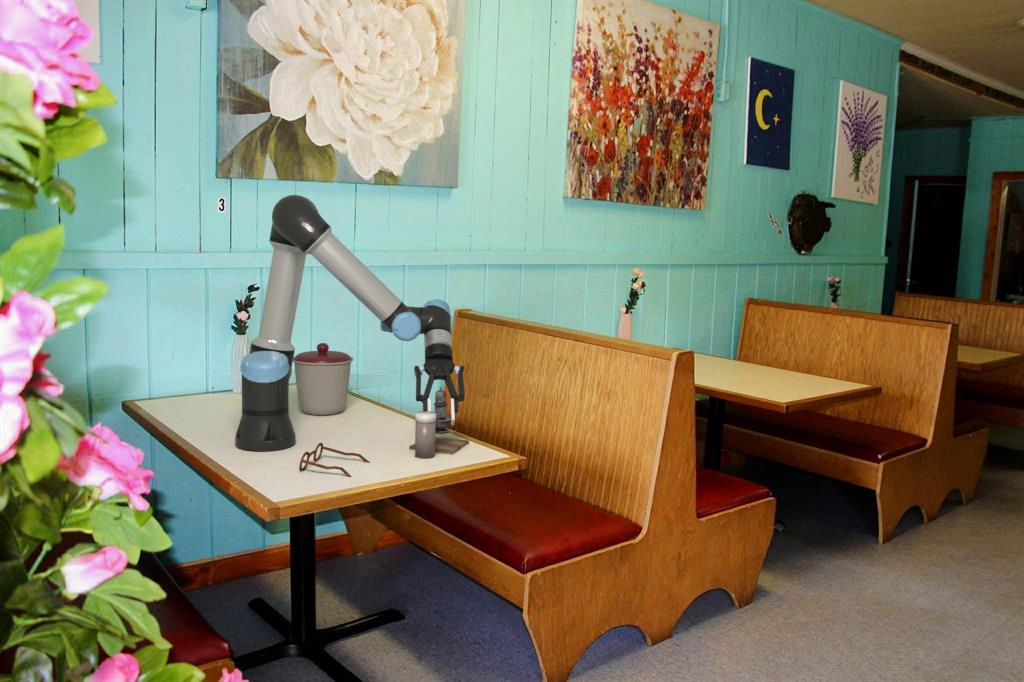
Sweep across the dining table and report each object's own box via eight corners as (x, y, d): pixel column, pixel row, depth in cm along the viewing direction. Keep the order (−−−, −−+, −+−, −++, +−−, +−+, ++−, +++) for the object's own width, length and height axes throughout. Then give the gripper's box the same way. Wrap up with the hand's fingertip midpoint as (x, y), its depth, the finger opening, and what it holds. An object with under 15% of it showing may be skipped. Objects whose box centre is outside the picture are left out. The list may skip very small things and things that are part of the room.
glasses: (319, 460, 219) (319, 440, 218) (370, 464, 217) (370, 444, 216) (297, 475, 206) (297, 454, 206) (351, 479, 204) (351, 458, 203)
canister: (358, 406, 278) (358, 339, 275) (346, 419, 260) (346, 348, 257) (300, 404, 278) (300, 337, 275) (284, 417, 260) (284, 346, 257)
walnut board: (452, 454, 226) (452, 451, 226) (409, 449, 230) (409, 446, 229) (468, 443, 238) (468, 440, 237) (427, 438, 241) (427, 435, 241)
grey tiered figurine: (439, 427, 237) (440, 383, 235) (456, 431, 233) (456, 386, 232) (424, 431, 233) (424, 386, 231) (440, 435, 229) (441, 390, 227)
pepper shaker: (430, 459, 221) (431, 416, 219) (411, 457, 222) (412, 414, 221) (438, 454, 226) (439, 412, 224) (419, 452, 227) (420, 410, 226)
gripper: (404, 341, 238) (405, 415, 225) (473, 341, 241) (478, 414, 227) (404, 357, 244) (404, 430, 231) (470, 357, 247) (475, 429, 233)
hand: (441, 422), depth 229 cm, fingers closed on grey tiered figurine, 5 cm apart
